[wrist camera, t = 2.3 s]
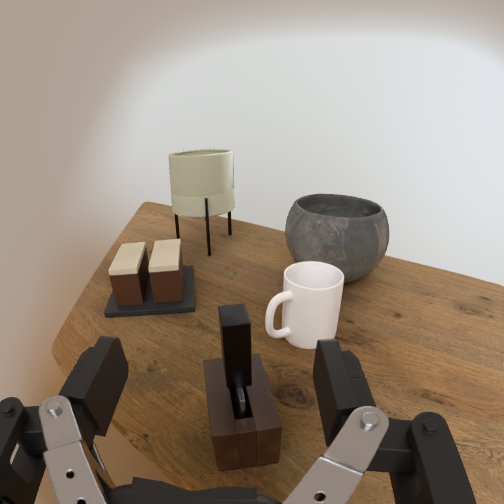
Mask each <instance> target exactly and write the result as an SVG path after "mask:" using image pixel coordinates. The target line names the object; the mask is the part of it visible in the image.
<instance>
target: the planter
mask: <svg viewBox="0 0 504 504" xmlns="http://www.w3.org/2000/svg"><path fill="white" fill-rule="evenodd" d="M169 170H170V183H171V197H172V209H173V212H174V213H175V224H176V234H177V239H180V234H179V223H178V215H179V216H184V217H193V218H200V217H205V221H206V233H207V248H208V256H211V248H210V232H209V217H212V216H217V215H222V214H225V213H228V233H229V235H232V230H231V211H232V210H233V209H234V168H233V151H232V150H227V149H201V150H189V151H182V152H176V153H172V154H169Z"/></svg>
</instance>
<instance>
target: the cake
mask: <svg viewBox="0 0 504 504" xmlns="http://www.w3.org/2000/svg"><path fill="white" fill-rule="evenodd" d="M109 275H110V280H111V284H112V288H113V291H112V294H111V296H110V299H109V301H108V304H107V307H106V309H105V312H104V314H105V317H124V316H141V315H156V314H170V313H183V312H195V298H194V270H193V266H184V267H183V261H182V252H181V242H180V239H171V240H160V241H155V244H154V248H153V251H152V255H151V259H150V263H149V262H148V255H147V249H146V242H137V243H126V244H122V245H121V246H120V248H119V250H118V252H117V254H116V256H115V258H114V260H113V262H112V264H111V266H110V268H109Z"/></svg>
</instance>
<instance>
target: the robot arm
mask: <svg viewBox="0 0 504 504" xmlns="http://www.w3.org/2000/svg"><path fill="white" fill-rule="evenodd" d="M127 378H128V364H127V361H126V358H125V354H124V351H123V348H122V345H121V342H120V339H119V338H118V337H107V336H101V337H100V338H99V339H98V341H97V343H96V344H95V346H94V347H89V348H88V349H87V350H86V351H85V352H83V353H82V354H81V356H80V358H79V359H78V361H77V364H75V366H74V368H73V371H71V373H70V375H69V376H68V378H67V380H66V382H65V384H64V385H63V387H62V389H61V391H60V393H59V394H58V395H54V396H50V397H48V398H46V399H45V400H44V401H43V402H42V403H41V405H40V406H32V407H24V406H23V404H22V403H21V401H20V400H19V399H17V398H15V397H9V398H6V399H4V400H2V401H1V402H0V504H34V502H35V499H36V496H37V492H38V489H39V486H40V483H41V480H42V477H43V474H44V471H45V468H46V467H47V470H48V474H49V476H50V480H51V483H52V486H53V489H54V492H55V495H56V498H57V501H58V504H346V503H347V501H348V500H349V498H350V497H351V495H352V493H353V492H354V490H355V488H356V487H357V485H358V483H359V482H360V480H361V478H362V477H363V475H364V473H365V471H366V470H367V471H378V472H389V475H390V479H391V484H392V488H393V493H394V498H395V503H396V504H476V501H475V498H474V495H473V491H472V488H471V486H470V483H469V480H468V477H467V474H466V471H465V468H464V466H463V463H462V460H461V458H460V455H459V452H458V450H457V447H456V445H455V442H454V440H453V437H452V435H451V432H450V430H449V427H448V425H447V423H446V421H445V419H444V418H443V417H442V416H440V415H439V414H437V413H434V412H423V413H420V414H418V415H417V416H416V417H415V418H414V419H413V421H409V420H397V419H392V418H389V417H387V415H386V414H385V413H384V412H383V411H382V410H380V409H378V408H377V407H376V405H375V402H374V400H373V397H372V394H371V391H370V389H369V386H368V383H367V381H366V378H365V375H364V373H363V370H362V367H361V365H360V362H359V360H358V358H357V357H356V356H355V355H354V354H353V353H352V352H351V351H350V350H347V351H341V349H340V346H339V343H338V340H337V339H321V340H318V341H317V345H316V353H315V360H314V367H313V379H314V385H315V390H316V395H317V400H318V405H319V410H320V415H321V420H322V425H323V430H324V435H325V441H326V446H330V447H329V448H328V450H327V451H326V453H325V454H324V455H321V456H320V457H319V458H318V459H317V460H316V461H315V463H314V464H313V465H312V467H311V468H310V469H309V471H308V472H307V473H306V475H305V476H304V477H303V479H302V480H301V481H300V482H299V484H298V485H297V486H296V488H295V489H294V490H293V491H292V492H291V494H290V495H289V496H288V497H287V499H286V500H285V501H284V502H283V503H281V502H280V501H278V500H275V499H273V498H271V497H267V496H264V495H260V494H256V487H220V488H213V489H207V490H200V491H188V490H185V489H182V488H179V487H176V486H173V485H171V484H168V483H165V482H162V481H156V480H149V479H143V478H137V477H133V482H132V484H128V485H122V486H118V487H116V486H115V485H114V483H113V481H112V480H111V478H110V476H109V474H108V472H107V470H106V468H105V466H104V464H103V462H102V459H101V457H100V455H99V452H98V450H97V448H96V445H95V443H94V442H93V439H94V437H95V435H99V436H104V437H105V436H106V433H107V430H108V427H109V425H110V422H111V419H112V417H113V414H114V411H115V409H116V406H117V403H118V401H119V398H120V396H121V393H122V391H123V388H124V386H125V383H126V381H127ZM16 444H18V445H19V448H18V450H17V452H16V455H15V458H14V460H13V462H12V465H11V464H10V459H11V456H12V453H13V451H14V449H15V446H16Z"/></svg>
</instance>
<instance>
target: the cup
mask: <svg viewBox="0 0 504 504" xmlns="http://www.w3.org/2000/svg"><path fill="white" fill-rule="evenodd" d="M343 283H344V275H343V273H342V271H341V270H340V269H338V268H337V267H335V266H333V265H330V264H327V263H323V262H315V261H306V262H299V263H295V264H292V265H290V266H289V267H287V268H286V269H285V271H284V283H283V292H282V293H279V294H277V295H275V296H274V297H273V298H272V299H271V301H270V302H269V305H268V307H267V311H266V317H265V327H266V331H267V333H268V334H269V336H271V337H273V338H283V337H284V338H285V339H286V340H287V341H288V342H289V343H290V344H292V345H294V346H296V347H298V348H302V349H316V345H317V341H318V340H321V339H334V337H335V334H336V330H337V324H338V318H339V311H340V305H341V298H342V291H343ZM282 302H283V308H282V329H280V330H275V329H274V327H273V318H274V313H275V310H276V308H277V306H278V305H279V304H280V303H282Z"/></svg>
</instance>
